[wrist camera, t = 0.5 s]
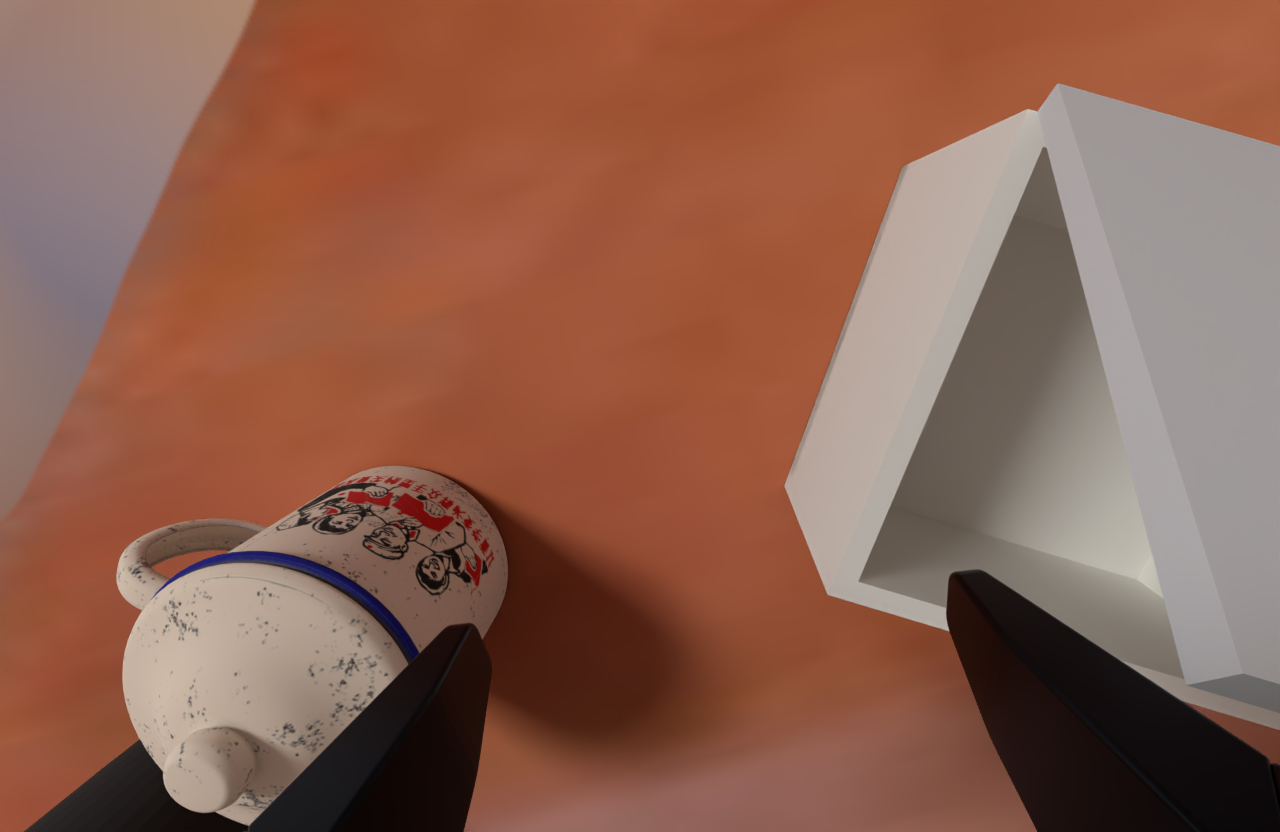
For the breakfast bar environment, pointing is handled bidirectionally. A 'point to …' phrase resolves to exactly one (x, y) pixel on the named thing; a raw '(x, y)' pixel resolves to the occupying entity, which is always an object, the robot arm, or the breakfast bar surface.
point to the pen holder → (129, 803)
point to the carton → (982, 418)
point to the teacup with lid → (295, 627)
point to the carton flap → (1188, 361)
